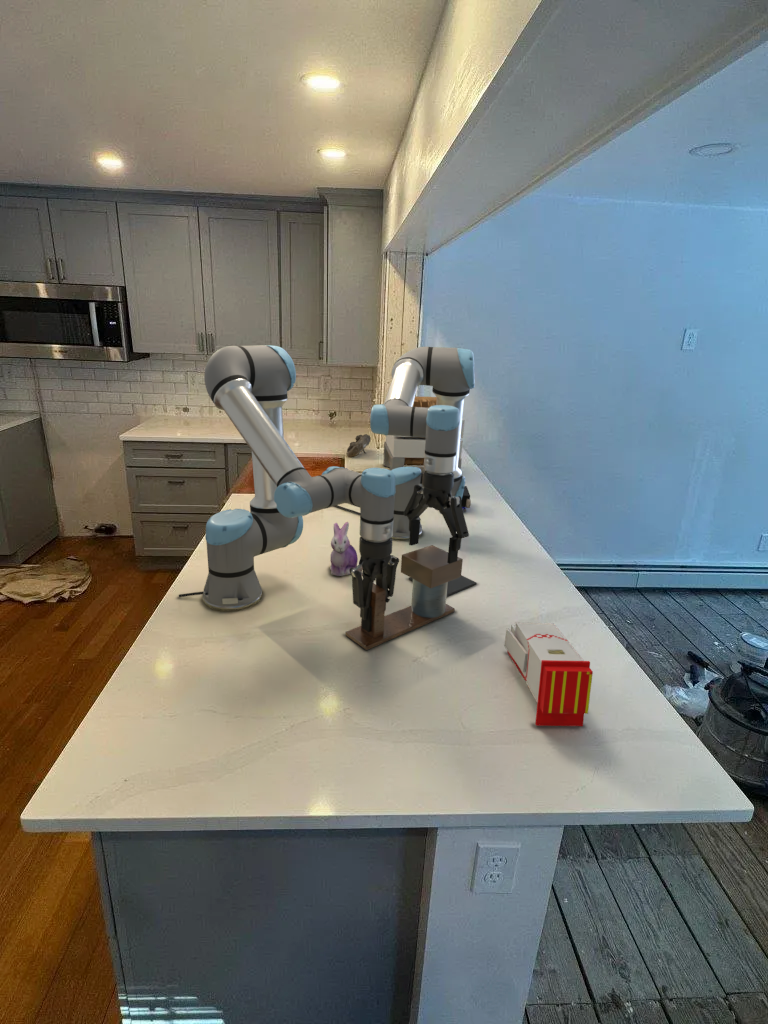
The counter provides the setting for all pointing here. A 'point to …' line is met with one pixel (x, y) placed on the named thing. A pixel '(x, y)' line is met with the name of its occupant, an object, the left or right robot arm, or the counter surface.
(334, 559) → the figurine
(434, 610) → the wooden base with post
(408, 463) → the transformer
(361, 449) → the fossil
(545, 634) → the toy
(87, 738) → the counter surface
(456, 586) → the coaster
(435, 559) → the lid
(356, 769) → the counter surface
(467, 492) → the figurine character
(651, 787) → the counter surface
